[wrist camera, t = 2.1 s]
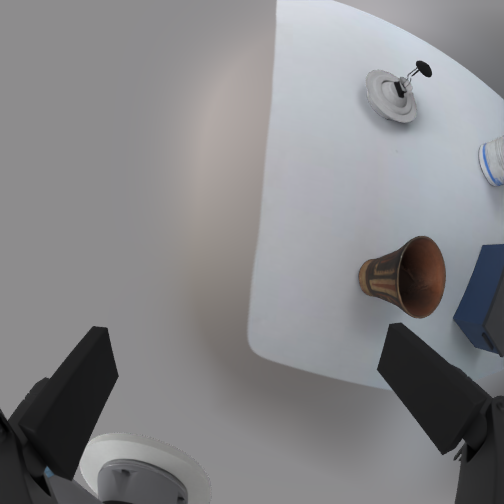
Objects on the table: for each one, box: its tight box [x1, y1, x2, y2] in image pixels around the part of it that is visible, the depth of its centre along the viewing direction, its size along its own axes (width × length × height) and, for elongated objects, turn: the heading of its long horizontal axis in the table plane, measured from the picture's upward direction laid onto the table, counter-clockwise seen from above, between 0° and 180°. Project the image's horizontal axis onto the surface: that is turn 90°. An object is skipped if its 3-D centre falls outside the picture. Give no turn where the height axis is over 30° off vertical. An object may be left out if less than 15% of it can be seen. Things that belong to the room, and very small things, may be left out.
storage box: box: [453, 244, 504, 357], centre depth 34 cm, size 17×13×8 cm
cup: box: [359, 236, 446, 318], centre depth 30 cm, size 9×9×10 cm
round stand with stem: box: [365, 61, 432, 123], centre depth 30 cm, size 12×10×10 cm
